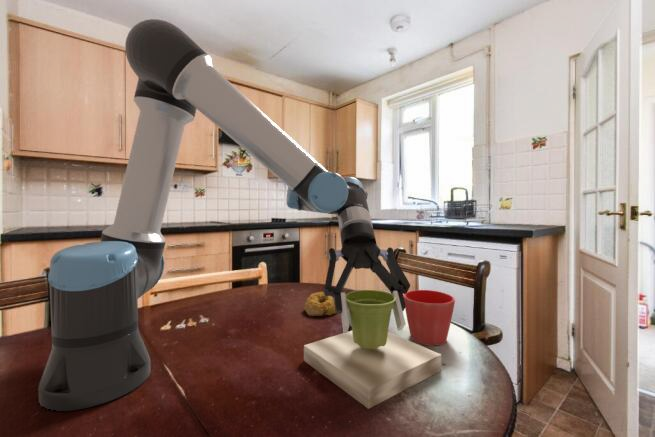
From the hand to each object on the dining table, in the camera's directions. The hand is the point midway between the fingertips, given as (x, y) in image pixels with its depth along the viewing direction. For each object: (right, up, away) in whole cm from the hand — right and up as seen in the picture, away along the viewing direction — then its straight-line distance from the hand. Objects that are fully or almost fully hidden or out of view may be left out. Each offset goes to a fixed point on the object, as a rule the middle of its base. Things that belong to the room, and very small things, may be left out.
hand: (374, 328), depth 55 cm
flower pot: (+15, -8, +15) cm, 23 cm away
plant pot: (0, -4, +3) cm, 5 cm away
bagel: (-10, -8, +34) cm, 37 cm away
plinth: (0, -8, +3) cm, 9 cm away
